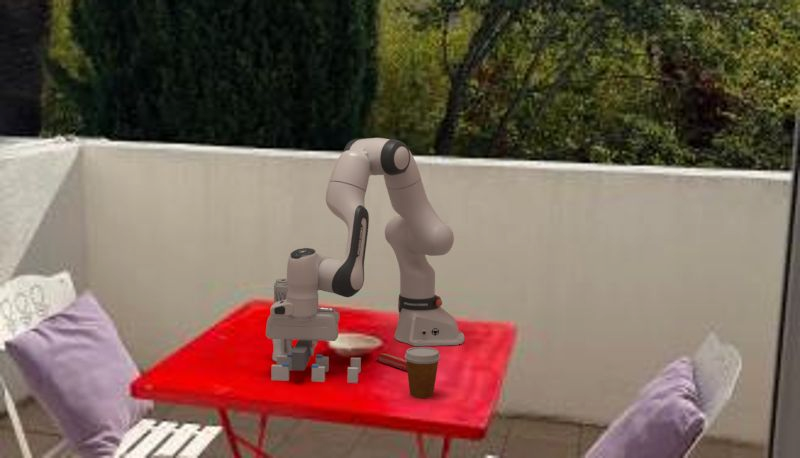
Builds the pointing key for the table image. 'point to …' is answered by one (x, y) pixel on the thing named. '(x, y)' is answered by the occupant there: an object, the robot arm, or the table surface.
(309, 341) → the tall grey pillar
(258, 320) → the table surface
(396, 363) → the candy bar
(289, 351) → the beer glass
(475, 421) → the table surface
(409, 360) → the disposable coffee cup
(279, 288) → the energy drink can
